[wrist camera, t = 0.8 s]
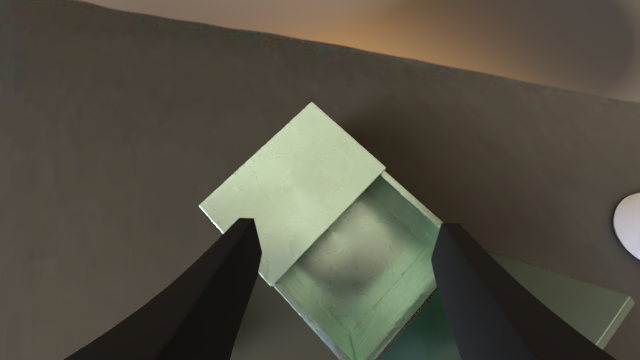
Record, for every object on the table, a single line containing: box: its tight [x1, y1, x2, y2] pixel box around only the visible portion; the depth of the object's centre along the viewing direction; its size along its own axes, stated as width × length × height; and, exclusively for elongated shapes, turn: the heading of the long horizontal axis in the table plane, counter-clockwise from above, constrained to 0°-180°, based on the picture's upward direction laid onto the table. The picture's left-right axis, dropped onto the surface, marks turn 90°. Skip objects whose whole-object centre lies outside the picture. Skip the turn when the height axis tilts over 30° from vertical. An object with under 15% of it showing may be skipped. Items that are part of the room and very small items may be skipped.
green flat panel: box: [379, 249, 635, 360], centre depth 13 cm, size 7×11×1 cm
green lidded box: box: [199, 102, 443, 360], centre depth 21 cm, size 15×11×7 cm
